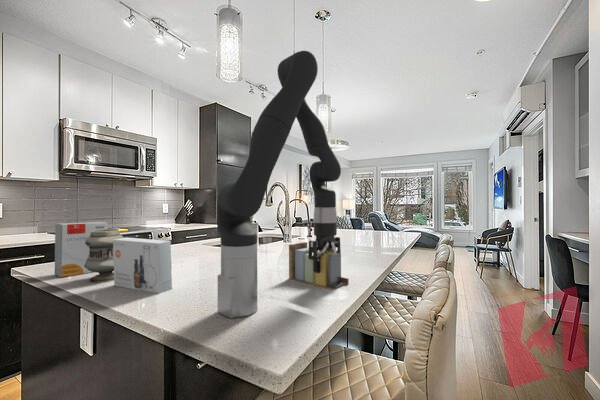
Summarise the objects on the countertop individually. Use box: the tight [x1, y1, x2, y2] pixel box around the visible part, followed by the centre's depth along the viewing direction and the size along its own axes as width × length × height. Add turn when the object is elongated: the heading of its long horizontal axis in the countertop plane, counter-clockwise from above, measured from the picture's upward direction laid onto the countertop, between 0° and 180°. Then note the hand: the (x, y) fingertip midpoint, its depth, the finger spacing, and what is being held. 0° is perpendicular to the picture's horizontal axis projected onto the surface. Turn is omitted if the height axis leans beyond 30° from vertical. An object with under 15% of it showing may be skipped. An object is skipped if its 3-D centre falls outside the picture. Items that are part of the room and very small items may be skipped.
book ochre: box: [315, 252, 335, 286], centre depth 93 cm, size 6×4×10 cm
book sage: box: [304, 253, 316, 283], centre depth 97 cm, size 6×4×9 cm, turn 137°
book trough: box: [288, 241, 350, 291], centre depth 96 cm, size 8×19×13 cm, turn 47°
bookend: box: [328, 252, 347, 290], centre depth 90 cm, size 6×3×10 cm, turn 137°
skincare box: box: [113, 237, 173, 294], centre depth 93 cm, size 21×6×16 cm, turn 68°
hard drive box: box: [54, 221, 108, 278], centre depth 114 cm, size 16×8×20 cm, turn 143°
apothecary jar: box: [85, 228, 125, 283], centre depth 104 cm, size 12×12×18 cm
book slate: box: [295, 247, 313, 281], centre depth 100 cm, size 6×4×10 cm
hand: (325, 270), depth 93 cm, fingers open, 8 cm apart
